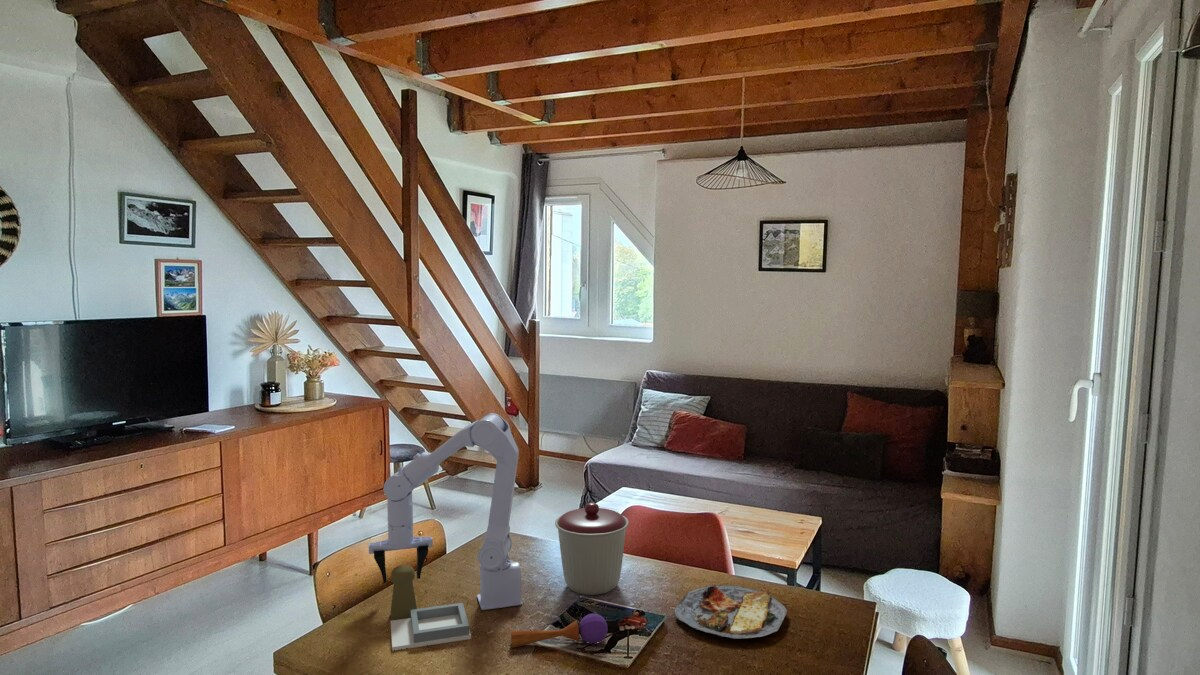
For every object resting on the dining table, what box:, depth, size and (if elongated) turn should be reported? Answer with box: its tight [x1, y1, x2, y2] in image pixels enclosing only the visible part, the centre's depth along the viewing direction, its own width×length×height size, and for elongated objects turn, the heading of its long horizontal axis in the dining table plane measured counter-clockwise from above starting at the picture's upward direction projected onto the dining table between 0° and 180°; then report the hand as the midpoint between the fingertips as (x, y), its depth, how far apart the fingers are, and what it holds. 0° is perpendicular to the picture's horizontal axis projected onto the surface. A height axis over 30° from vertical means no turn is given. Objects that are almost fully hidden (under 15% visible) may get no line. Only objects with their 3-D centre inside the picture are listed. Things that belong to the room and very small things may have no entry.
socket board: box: [390, 602, 472, 652], centre depth 155 cm, size 16×12×3 cm
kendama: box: [510, 613, 609, 649], centre depth 150 cm, size 6×6×20 cm
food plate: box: [674, 584, 788, 640], centre depth 161 cm, size 25×23×4 cm
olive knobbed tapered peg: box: [389, 564, 418, 621], centre depth 162 cm, size 6×6×11 cm
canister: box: [554, 502, 630, 596], centre depth 177 cm, size 18×18×21 cm
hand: (401, 579), depth 170 cm, fingers open, 7 cm apart
